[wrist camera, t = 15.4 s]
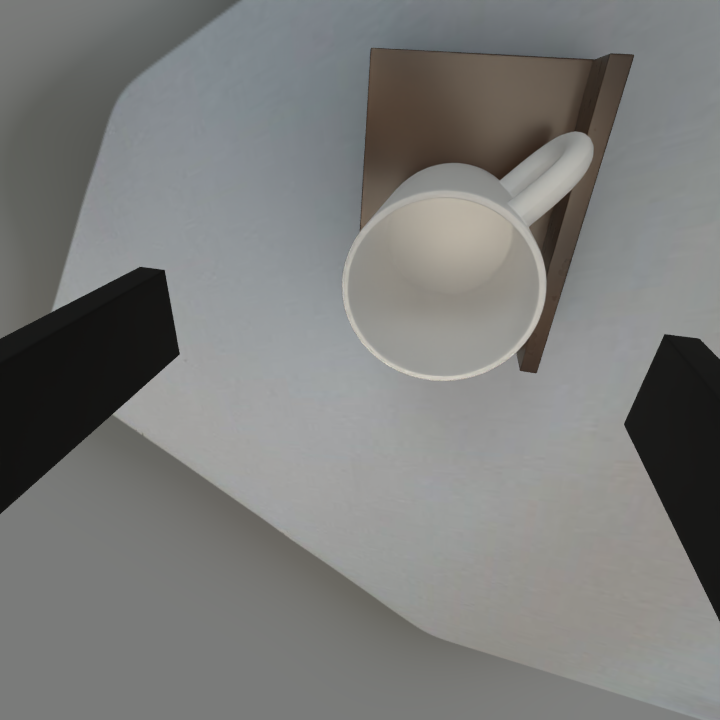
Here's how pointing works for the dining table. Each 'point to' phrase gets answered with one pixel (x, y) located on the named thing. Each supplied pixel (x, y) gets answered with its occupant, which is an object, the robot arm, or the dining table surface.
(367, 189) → the shelf
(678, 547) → the dining table surface
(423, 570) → the dining table surface
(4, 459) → the robot arm
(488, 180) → the cup
